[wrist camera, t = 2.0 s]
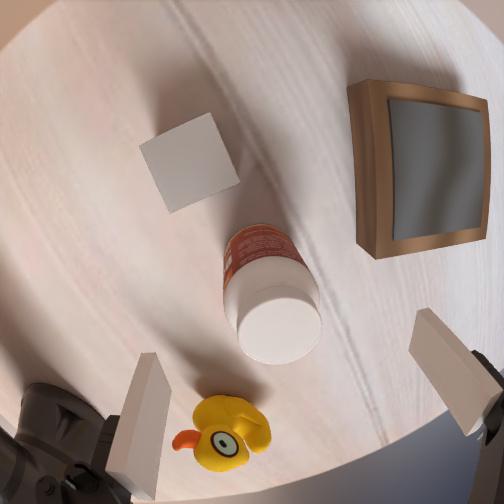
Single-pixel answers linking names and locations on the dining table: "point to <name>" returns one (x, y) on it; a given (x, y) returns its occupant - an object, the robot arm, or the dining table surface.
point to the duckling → (225, 433)
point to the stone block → (189, 162)
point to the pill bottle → (270, 296)
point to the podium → (418, 167)
